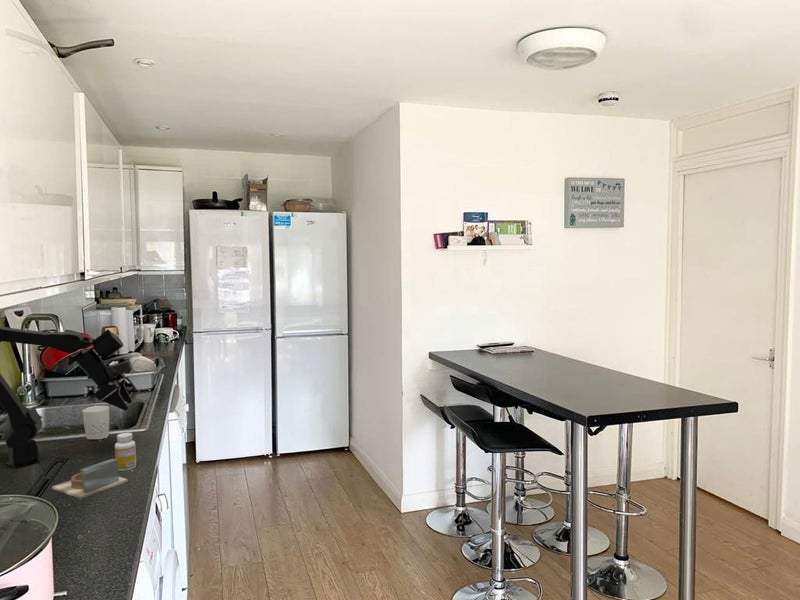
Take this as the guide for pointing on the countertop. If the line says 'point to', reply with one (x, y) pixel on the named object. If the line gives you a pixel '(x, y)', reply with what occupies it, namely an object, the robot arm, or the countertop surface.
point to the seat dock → (92, 480)
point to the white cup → (96, 422)
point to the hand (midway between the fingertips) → (129, 406)
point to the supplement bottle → (125, 452)
